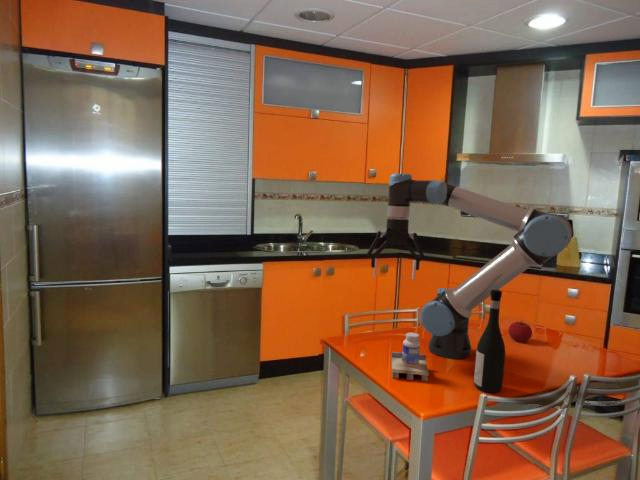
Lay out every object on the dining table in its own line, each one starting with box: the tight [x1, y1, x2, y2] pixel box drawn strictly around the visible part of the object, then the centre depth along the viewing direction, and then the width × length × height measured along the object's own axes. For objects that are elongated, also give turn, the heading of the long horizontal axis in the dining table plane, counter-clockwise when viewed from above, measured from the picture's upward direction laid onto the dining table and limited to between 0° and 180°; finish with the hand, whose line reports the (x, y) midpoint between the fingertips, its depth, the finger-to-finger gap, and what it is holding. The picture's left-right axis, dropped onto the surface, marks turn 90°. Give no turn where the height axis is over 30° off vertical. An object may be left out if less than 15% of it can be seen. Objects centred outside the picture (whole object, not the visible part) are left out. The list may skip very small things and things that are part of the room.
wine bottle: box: [473, 289, 506, 394], centre depth 138 cm, size 8×8×30 cm
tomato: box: [507, 320, 533, 342], centre depth 186 cm, size 9×9×8 cm
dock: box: [391, 351, 430, 382], centre depth 148 cm, size 11×11×4 cm
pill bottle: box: [401, 332, 421, 367], centre depth 148 cm, size 5×5×10 cm
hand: (394, 278), depth 165 cm, fingers open, 13 cm apart
